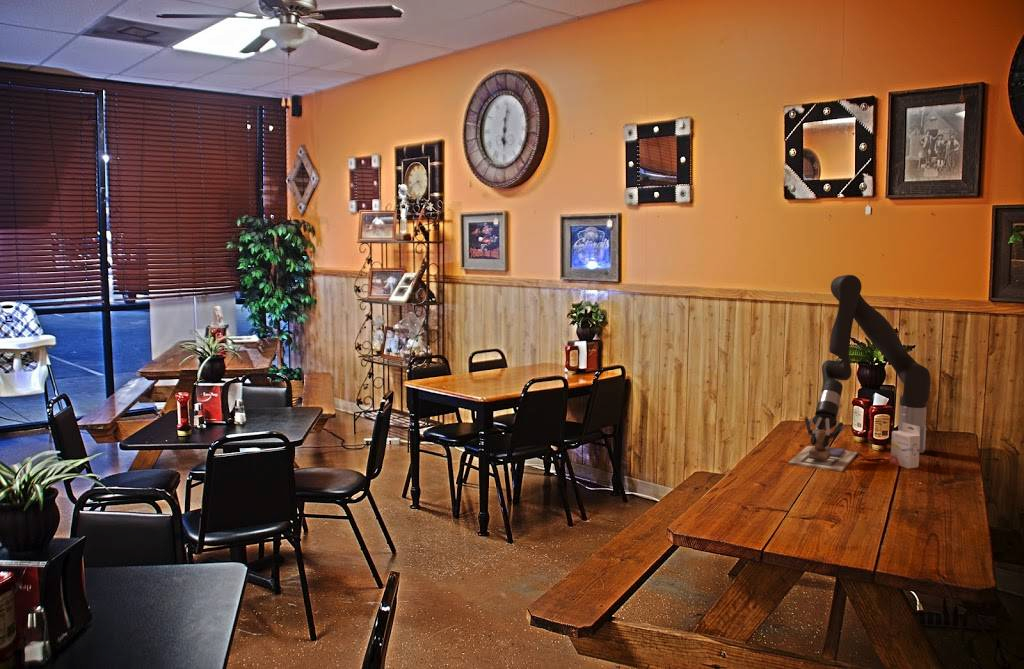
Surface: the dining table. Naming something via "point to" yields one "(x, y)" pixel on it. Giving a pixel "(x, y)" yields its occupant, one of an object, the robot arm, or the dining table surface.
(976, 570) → the dining table surface
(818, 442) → the hand stamp
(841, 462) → the stamping board
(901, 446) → the ink cartridge box
